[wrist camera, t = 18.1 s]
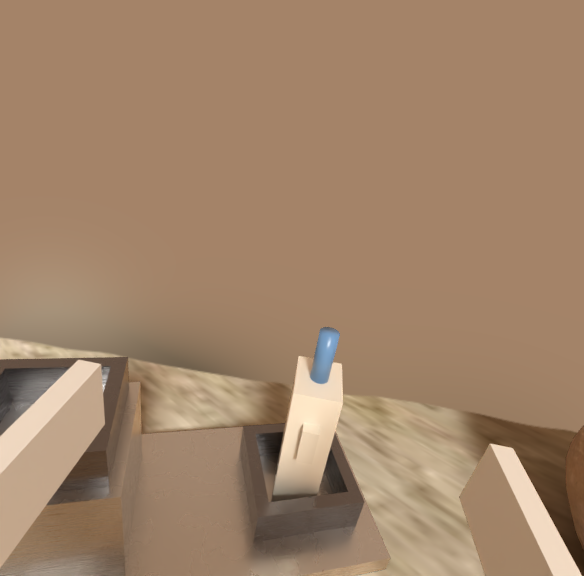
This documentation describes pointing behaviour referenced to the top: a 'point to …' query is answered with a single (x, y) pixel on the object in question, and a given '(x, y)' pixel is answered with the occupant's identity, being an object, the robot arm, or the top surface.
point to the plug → (310, 421)
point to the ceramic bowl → (576, 482)
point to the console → (183, 498)
